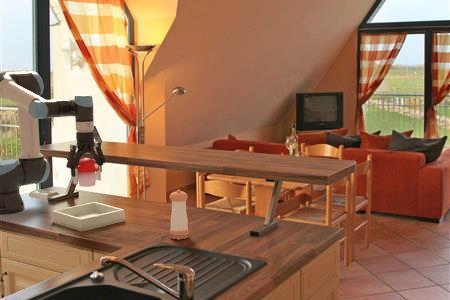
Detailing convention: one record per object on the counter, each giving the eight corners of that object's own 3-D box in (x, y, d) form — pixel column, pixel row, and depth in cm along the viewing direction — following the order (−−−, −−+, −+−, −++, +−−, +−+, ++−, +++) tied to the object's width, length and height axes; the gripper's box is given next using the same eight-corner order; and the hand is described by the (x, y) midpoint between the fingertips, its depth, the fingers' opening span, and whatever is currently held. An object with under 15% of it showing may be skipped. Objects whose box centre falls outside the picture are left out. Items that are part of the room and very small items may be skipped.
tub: (52, 222, 252) (52, 210, 251) (95, 212, 268) (94, 201, 267) (81, 231, 237) (80, 219, 236) (124, 220, 253) (124, 209, 252)
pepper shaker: (181, 241, 222) (180, 192, 220) (166, 238, 226) (165, 190, 223) (192, 236, 228) (191, 189, 226) (177, 234, 232) (176, 187, 229)
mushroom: (103, 182, 255) (102, 155, 253) (95, 188, 244) (94, 160, 242) (79, 182, 256) (78, 155, 254) (71, 187, 245) (69, 159, 243)
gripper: (65, 134, 236) (68, 187, 239) (112, 129, 253) (114, 179, 256) (55, 133, 241) (58, 184, 244) (102, 128, 258) (104, 176, 261)
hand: (87, 181), depth 250 cm, fingers closed on mushroom, 11 cm apart
